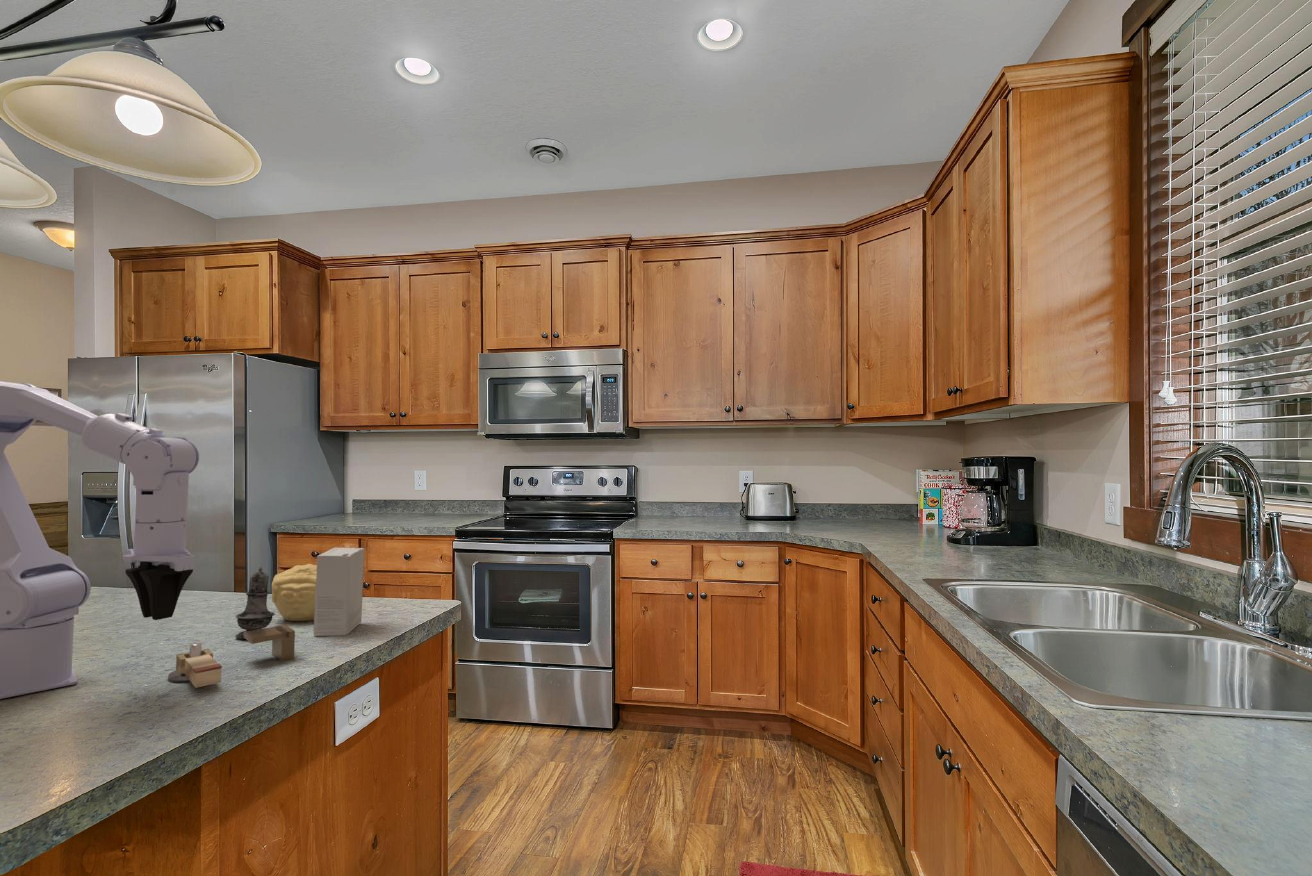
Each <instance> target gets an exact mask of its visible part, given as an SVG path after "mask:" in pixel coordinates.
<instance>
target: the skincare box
mask: <svg viewBox="0 0 1312 876" xmlns="http://www.w3.org/2000/svg"><path fill="white" fill-rule="evenodd" d="M364 559H365V548H363V547H333V548H331V549H329V550H326V551H325V552H323V553H320V554H319V555H317V556H316V565H317V576H316V592H315V615H314V620H313V636H315V637H326V636H327V637H333V636H334V637H335V636H336V637H338V636H339V637H340V636H342V635H343V636H348V635H349V634H350V633H351V632H352V631H353V630H354V629H355V628H356V627H358V626H359V625H360V624H361V623H362V614H363V593H364V591H363V589H364V570H365V569H364V567H365V565H364V564H365V562H364V561H365V560H364Z"/></svg>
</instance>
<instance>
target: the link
mask: <svg viewBox="0 0 1312 876" xmlns="http://www.w3.org/2000/svg"><path fill="white" fill-rule="evenodd" d="M222 668H223V666H222V664H221V663H218V661H217V660H215V658H214V653H213V652H212V650H210V648H204V649H201V656H196V657H191V658H189V652H182V653H178V654H176V661H175V670H177V671H178V672H179V674H184V673H185V675H186V676H187V677H188V679H189V680H190V681H191V682H190V683H191V684H192V686H194V687H195V688H196V689H197V688H201V687H205V686H211V685H215V684H219V683H221V682H222Z"/></svg>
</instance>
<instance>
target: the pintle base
mask: <svg viewBox="0 0 1312 876" xmlns="http://www.w3.org/2000/svg"><path fill="white" fill-rule="evenodd" d="M201 650H203V649H202V642H193V643H191V644H189V658H191V657H196V656H201ZM167 677H168V678H167V680H168V682H170V683H175V684H177V683H180V684H181V683H191V681H190V680H189V679H188V677H187V676H186V675H185V673H184V674H179V672H178V671H177V670H176V669H175V670H173V671H171V672H170V673H169V674H168V676H167Z"/></svg>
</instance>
